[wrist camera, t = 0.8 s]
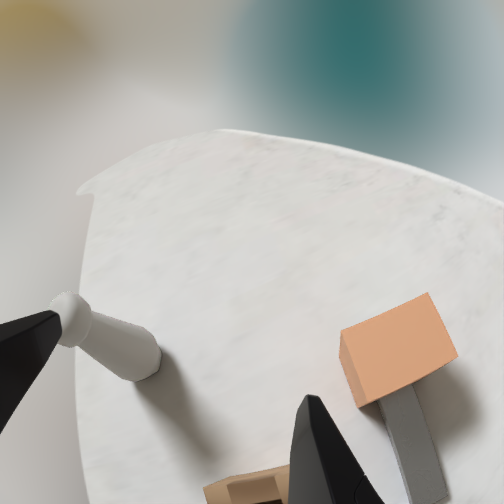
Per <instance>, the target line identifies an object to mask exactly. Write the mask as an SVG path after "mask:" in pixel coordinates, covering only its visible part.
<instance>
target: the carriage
mask: <svg viewBox="0 0 504 504" xmlns="http://www.w3.org/2000/svg"><path fill="white" fill-rule="evenodd" d="M457 357H458V354H457V352H456V349H455V347H454V345H453V343H452V341H451V338H450V336H449V334H448V332H447V330H446V328H445V326H444V323H443V321H442V319H441V317H440V315H439V313H438V311H437V309H436V307H435V305H434V303H433V302H432V300H431V298H430V296H429V294H428V292H427V293H425V294H423V295H421V296H419V297H417V298H415V299H413V300H410V301H408V302H406V303H404V304H402V305H400V306H398V307H395V308H393V309H391V310H389V311H387V312H384V313H382V314H380V315H378V316H375V317H373V318H371V319H368V320H366V321H364V322H361V323H359V324H356V325H354V326H351V327H349V328H346V329H344V330H341V336H340V350H339V358H340V361H341V364H342V367H343V369H344V372H345V375H346V377H347V380H348V383H349V386H350V389H351V391H352V394H353V397H354V400H355V403H356V406H357V408H359V407H362V406H364V405H367V404H369V403H371V402H373V401H376V400H378V399H380V398H383V397H385V396H387V395H389V394H391V393H394V392H396V391H398V390H400V389H402V388H404V387H406V386H408V385H410V384H412V383H414V382H416V381H418V380H420V379H422V378H424V377H426V376H428V375H429V374H431V373H433V372H434V371H436V370H438V369H439V368H441V367H443V366H444V365H446V364H448V363H449V362H451V361H452V360H454V359H455V358H457Z"/></svg>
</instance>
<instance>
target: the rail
mask: <svg viewBox="0 0 504 504" xmlns="http://www.w3.org/2000/svg"><path fill="white" fill-rule="evenodd" d="M377 402H378V405H379V408H380V411H381V414H382V416H383V419H384V422H385V425H386V428H387V431H388V434H389V437H390V440H391V443H392V446H393V449H394V452H395V455H396V459H397V462H398V465H399V468H400V472H401V475H402V478H403V482H404V485H405V488H406V492H407V495H408V499H409V503H410V504H433V503H435V502H437V501H439V500H441V499H442V498H444V497H446V496H448V495H447V491H446V487H445V483H444V480H443V476H442V472H441V469H440V465H439V462H438V458H437V455H436V452H435V448H434V445H433V442H432V439H431V436H430V433H429V430H428V427H427V424H426V421H425V418H424V415H423V412H422V410H421V407H420V404H419V401H418V399H417V396H416V393H415V391H414V388H413V385H412V384H410V385H408V386H406V387H404V388H402V389H400V390H398V391H396V392H394V393H391V394H389V395H387V396H385V397H383V398H380V399H378V400H377Z"/></svg>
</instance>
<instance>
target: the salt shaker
mask: <svg viewBox="0 0 504 504" xmlns="http://www.w3.org/2000/svg"><path fill="white" fill-rule="evenodd" d="M47 310H53V311H55V312H57V313H58V314H59V315H60V319H61V325H62V336H61V338H60V339H59V341H58V343H57V344H60V345H62V346H66V347H69V348H70V347H71V348H72V347H75V346H79V347H80V348H81V349H82V350H84V351H85V352H86V353H87V354H89V355H90V356H91V357H93V358H94V359H95V360H97V361H98V362H99V363H101V364H102V365H103V366H105V367H106V368H107V369H109V370H110V371H112V372H113V373H114V374H116V375H117V376H119V377H120V378H122V379H125V380H129V381H133V382H136V381H139V380H142V379H146V378H147V377H149V376H151V375H152V374H154V373H155V372H157V371H159V366H160V361H161V356H162V353H161V351H160V349H159V346H158V344H157V342H156V340H155V338H154V336H153V335H152V334H151V333H150V332H149V331H147V330H146V329H145V328H144V327H140V326H137V325H134V324H131V323H127V322H124V321H121V320H118V319H115V318H112V317H109V316H106V315H103V314H100V313H97V312H94V311H91V308H90V306H89V304H88V303H87V302H86V301H85V300H84V299H83V298H82V297H81V296H80V295H78V294H76V293H74V292H64V293H62V294H60V295H58V296H56V297H55V298H54V299H53V301H52V302H51V303H50V305H49V307H48V309H47Z"/></svg>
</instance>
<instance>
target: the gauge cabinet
mask: <svg viewBox="0 0 504 504" xmlns="http://www.w3.org/2000/svg"><path fill="white" fill-rule="evenodd" d="M289 469H290V464H289V465H285V466H281V467H277V468H273V469H268V470H263V471H258V472H253V473H248V474H242V475H236V476H230V477H228V478H225V479H223V480H221V481H218V482H216V483H213V484H211V485H208V486H206V487H203V490H204V494H205V497H206V501H207V504H288V490H289Z"/></svg>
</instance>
